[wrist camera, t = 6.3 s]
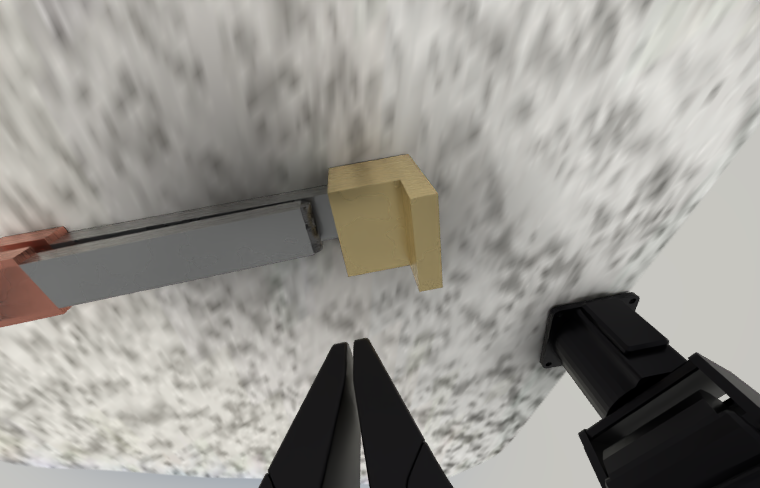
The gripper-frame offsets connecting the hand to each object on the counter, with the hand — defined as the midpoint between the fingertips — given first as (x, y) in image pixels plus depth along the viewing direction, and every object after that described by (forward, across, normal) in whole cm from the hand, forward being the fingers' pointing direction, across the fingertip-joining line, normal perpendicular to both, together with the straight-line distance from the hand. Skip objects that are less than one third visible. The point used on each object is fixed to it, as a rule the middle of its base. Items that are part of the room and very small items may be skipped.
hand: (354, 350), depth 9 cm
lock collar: (+10, -2, 0) cm, 10 cm away
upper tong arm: (+8, +9, -1) cm, 12 cm away
